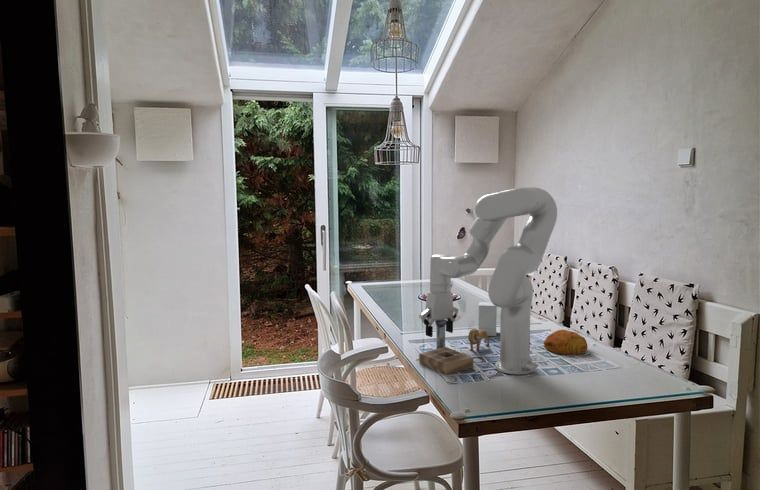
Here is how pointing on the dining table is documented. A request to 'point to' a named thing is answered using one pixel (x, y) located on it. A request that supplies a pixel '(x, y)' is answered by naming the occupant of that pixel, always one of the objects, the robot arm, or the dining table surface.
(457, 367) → the block
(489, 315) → the supplement box
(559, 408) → the dining table surface
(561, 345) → the croissant
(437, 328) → the key peg
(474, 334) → the lion figurine
